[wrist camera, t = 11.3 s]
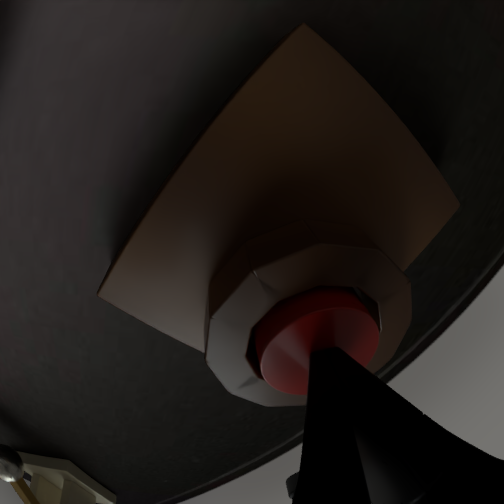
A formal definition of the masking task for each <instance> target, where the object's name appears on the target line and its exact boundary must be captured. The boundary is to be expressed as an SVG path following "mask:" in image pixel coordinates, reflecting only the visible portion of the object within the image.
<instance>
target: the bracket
mask: <svg viewBox="0 0 504 504" xmlns="http://www.w3.org/2000/svg"><path fill="white" fill-rule="evenodd" d="M16 452H17V453H18V454H19V455H20V457H21V458H22V461H23V464H24V470H25V471H26V472H27V473H29V474H30V475H31V476H32V479H31V484H30V490H31V491H32V493H33V494H34V496H35V497H36V498H37V500H38V501H39V503H40V504H95V502H96V503H103V504H116V495H115V494H113V493H112V492H110V491H109V490H107V489H106V488H105V487H103V486H102V485H100V484H99V483H98V482H96V481H95V480H94V479H92V478H91V477H90V476H88V475H87V474H86V473H84V472H83V471H82V470H81V469H79V468H78V467H77V466H76V465H74V464H73V463H72V462H71V461H70V460H66V459H59V458H52V457H45V456H40V455H34V454H29V453H24V452H19V451H16Z"/></svg>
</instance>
